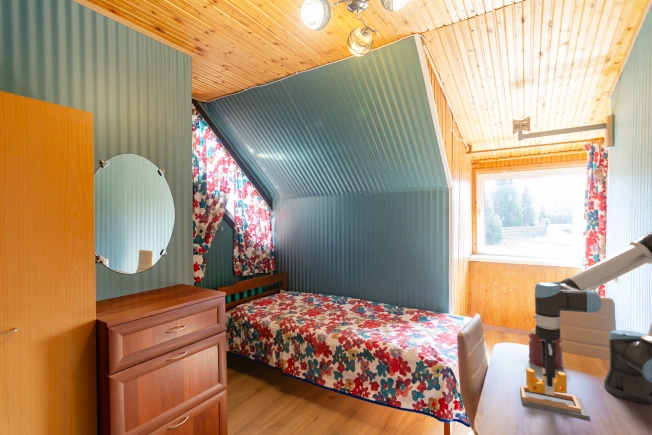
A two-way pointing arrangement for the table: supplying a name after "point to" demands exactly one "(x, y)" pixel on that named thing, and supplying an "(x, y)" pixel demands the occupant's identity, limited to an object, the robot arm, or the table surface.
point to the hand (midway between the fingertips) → (548, 390)
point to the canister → (536, 351)
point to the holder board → (554, 402)
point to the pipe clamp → (539, 385)
